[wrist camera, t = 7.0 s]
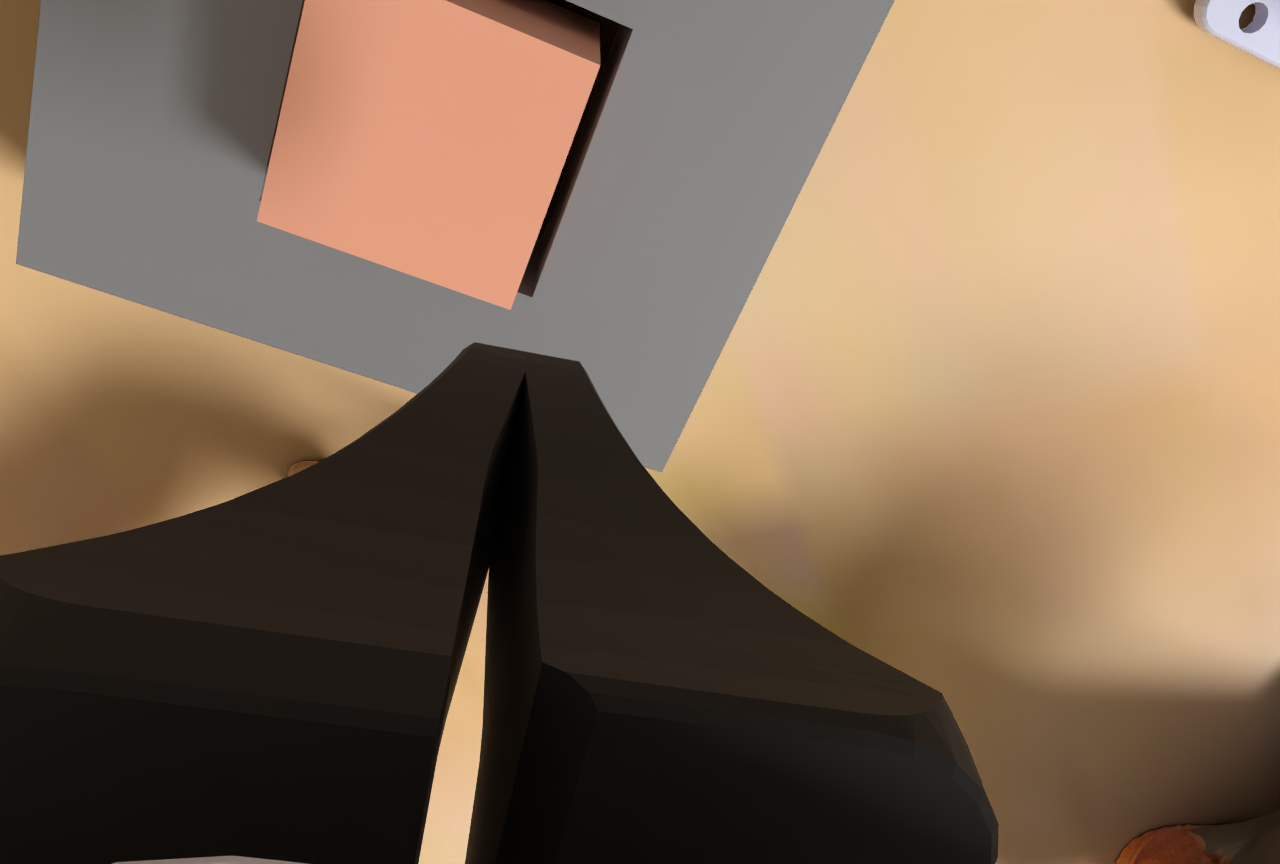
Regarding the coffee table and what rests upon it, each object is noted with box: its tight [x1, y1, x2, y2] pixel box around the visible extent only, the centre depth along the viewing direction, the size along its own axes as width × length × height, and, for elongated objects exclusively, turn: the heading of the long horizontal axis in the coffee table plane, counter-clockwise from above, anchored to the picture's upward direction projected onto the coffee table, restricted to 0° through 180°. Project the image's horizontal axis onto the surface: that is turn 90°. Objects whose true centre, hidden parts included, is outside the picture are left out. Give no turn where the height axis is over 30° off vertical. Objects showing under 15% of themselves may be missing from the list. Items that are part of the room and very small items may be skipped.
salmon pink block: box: [257, 0, 600, 310], centre depth 16 cm, size 4×4×4 cm
